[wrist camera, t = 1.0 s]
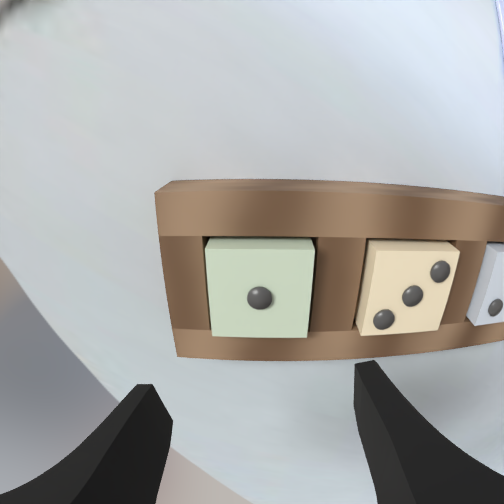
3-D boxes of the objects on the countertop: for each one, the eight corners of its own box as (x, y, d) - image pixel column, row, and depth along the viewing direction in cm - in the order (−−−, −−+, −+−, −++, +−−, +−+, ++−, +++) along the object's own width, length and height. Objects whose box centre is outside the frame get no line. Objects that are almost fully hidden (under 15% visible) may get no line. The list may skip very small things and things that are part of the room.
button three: (437, 233, 17) (461, 253, 14) (420, 305, 19) (438, 332, 16) (361, 230, 17) (377, 252, 14) (350, 308, 19) (361, 338, 16)
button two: (520, 237, 16) (546, 254, 14) (502, 299, 18) (523, 320, 15) (473, 234, 16) (499, 253, 14) (455, 303, 18) (475, 327, 16)
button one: (307, 229, 17) (315, 251, 14) (302, 308, 19) (307, 339, 16) (214, 229, 17) (204, 250, 14) (218, 307, 19) (211, 338, 16)
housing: (537, 202, 16) (562, 214, 13) (505, 316, 20) (523, 335, 17) (171, 180, 17) (154, 192, 15) (187, 328, 21) (177, 356, 18)
